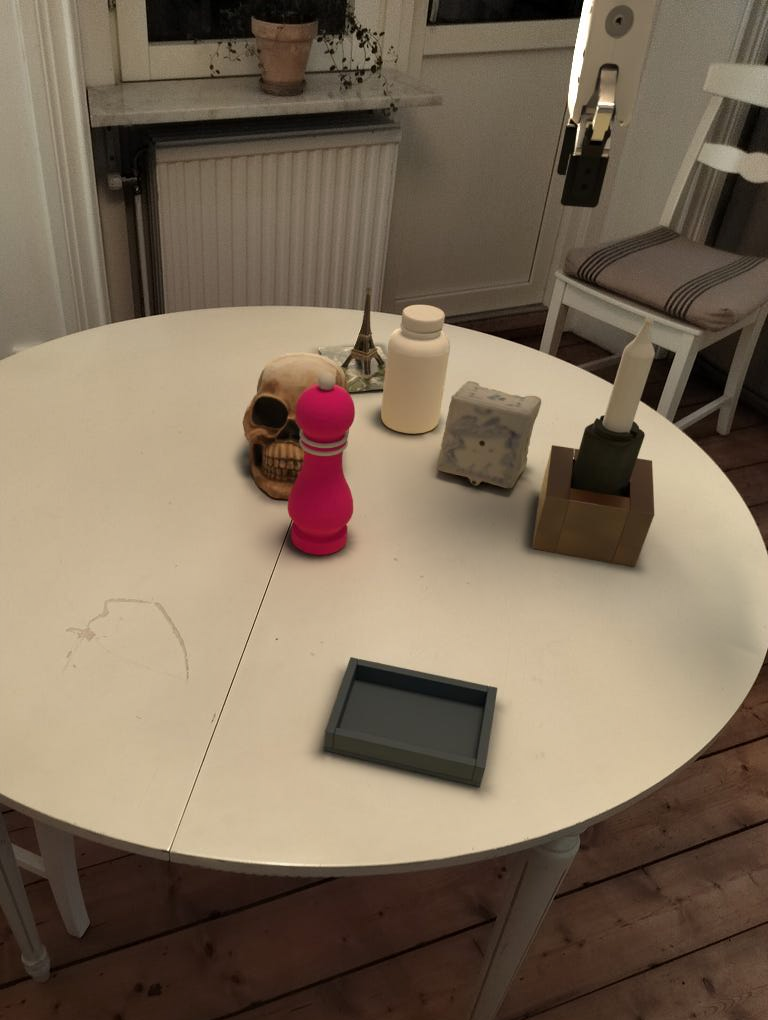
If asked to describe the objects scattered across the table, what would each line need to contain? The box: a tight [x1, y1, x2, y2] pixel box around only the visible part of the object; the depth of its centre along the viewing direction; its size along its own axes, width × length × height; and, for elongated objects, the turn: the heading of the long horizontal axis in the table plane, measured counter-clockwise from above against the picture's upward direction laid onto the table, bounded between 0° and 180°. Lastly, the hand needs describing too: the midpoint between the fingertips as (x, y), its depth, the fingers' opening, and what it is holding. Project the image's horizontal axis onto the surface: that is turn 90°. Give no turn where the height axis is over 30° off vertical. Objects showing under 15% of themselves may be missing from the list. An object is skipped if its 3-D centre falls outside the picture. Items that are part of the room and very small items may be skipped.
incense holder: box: [436, 380, 542, 489], centre depth 105 cm, size 10×8×10 cm
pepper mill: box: [287, 372, 356, 556], centre depth 91 cm, size 7×7×20 cm
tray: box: [323, 656, 498, 788], centre depth 76 cm, size 14×10×2 cm
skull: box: [242, 351, 350, 500], centre depth 107 cm, size 16×17×13 cm
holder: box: [531, 444, 655, 568], centre depth 97 cm, size 11×11×7 cm
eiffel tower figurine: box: [318, 279, 387, 393], centre depth 124 cm, size 15×10×13 cm
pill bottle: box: [380, 304, 451, 434], centre depth 113 cm, size 8×8×15 cm
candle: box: [571, 316, 656, 497], centre depth 91 cm, size 5×5×25 cm
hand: (575, 189), depth 79 cm, fingers open, 9 cm apart
